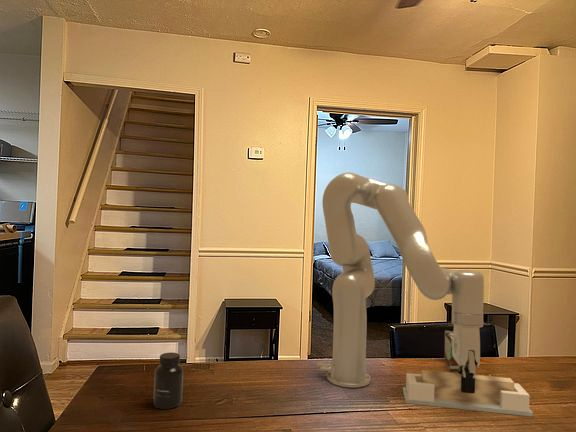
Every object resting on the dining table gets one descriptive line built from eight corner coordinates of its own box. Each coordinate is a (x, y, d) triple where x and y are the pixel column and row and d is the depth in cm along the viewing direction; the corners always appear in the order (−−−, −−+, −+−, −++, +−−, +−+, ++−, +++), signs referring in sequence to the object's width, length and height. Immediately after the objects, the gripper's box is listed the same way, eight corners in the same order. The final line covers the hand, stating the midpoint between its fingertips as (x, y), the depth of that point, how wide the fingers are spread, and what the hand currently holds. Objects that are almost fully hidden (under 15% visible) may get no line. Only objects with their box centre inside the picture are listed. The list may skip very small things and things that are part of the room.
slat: (422, 397, 109) (423, 374, 109) (420, 392, 112) (421, 370, 112) (513, 406, 105) (514, 382, 105) (509, 401, 108) (510, 378, 108)
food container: (471, 374, 129) (472, 342, 129) (450, 372, 130) (451, 340, 130) (463, 361, 141) (464, 331, 141) (443, 359, 142) (444, 330, 142)
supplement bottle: (156, 412, 99) (157, 361, 99) (151, 400, 105) (152, 352, 105) (185, 407, 102) (186, 357, 102) (178, 396, 108) (180, 349, 108)
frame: (405, 403, 107) (406, 383, 107) (402, 390, 115) (403, 372, 115) (533, 416, 102) (533, 396, 102) (521, 402, 110) (521, 383, 110)
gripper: (446, 311, 117) (445, 376, 117) (458, 325, 101) (457, 401, 101) (474, 312, 116) (473, 379, 116) (492, 327, 100) (491, 404, 100)
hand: (466, 389), depth 108 cm, fingers closed on slat, 2 cm apart
